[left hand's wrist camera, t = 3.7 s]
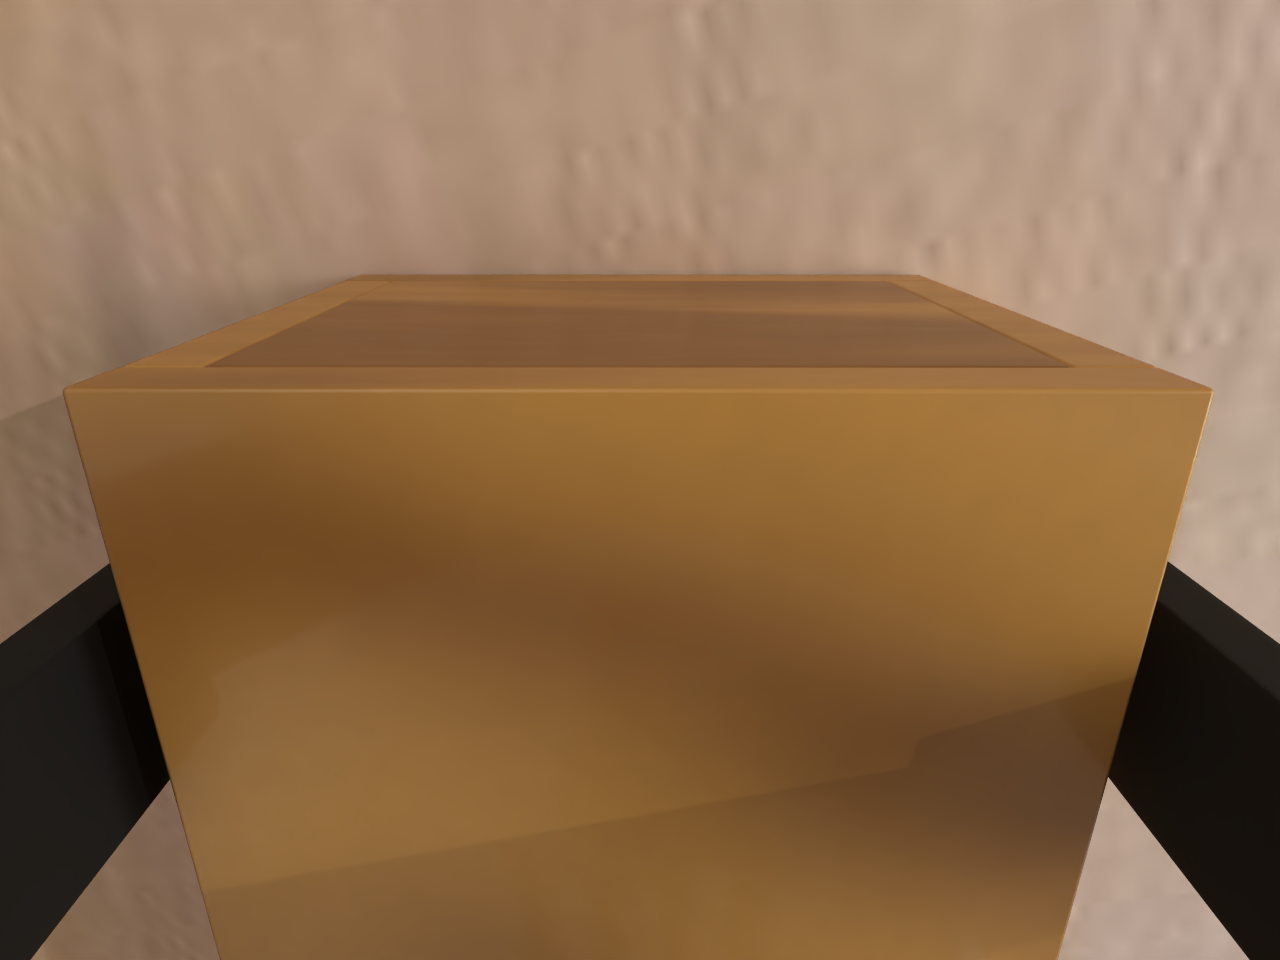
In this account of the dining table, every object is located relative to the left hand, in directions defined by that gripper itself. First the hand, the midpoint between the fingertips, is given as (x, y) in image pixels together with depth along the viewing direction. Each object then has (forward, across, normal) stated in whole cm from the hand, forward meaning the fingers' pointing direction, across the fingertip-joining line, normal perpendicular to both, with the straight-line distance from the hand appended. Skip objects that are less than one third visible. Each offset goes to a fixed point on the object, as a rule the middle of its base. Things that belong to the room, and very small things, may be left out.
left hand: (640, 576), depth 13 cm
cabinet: (+4, 0, -7) cm, 8 cm away
